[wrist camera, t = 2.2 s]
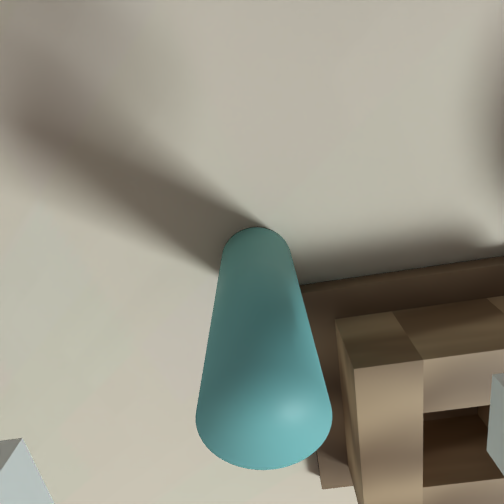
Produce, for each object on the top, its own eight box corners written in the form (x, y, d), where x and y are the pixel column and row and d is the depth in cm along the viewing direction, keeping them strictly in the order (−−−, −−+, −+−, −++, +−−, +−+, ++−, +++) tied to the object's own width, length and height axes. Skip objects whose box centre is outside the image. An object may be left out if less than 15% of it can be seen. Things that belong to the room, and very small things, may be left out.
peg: (215, 233, 22) (182, 374, 11) (286, 222, 22) (326, 355, 11) (228, 295, 23) (210, 476, 12) (294, 285, 23) (337, 461, 12)
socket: (295, 286, 23) (308, 340, 18) (573, 246, 22) (668, 290, 17) (320, 476, 29) (335, 558, 24) (540, 450, 28) (605, 529, 23)
